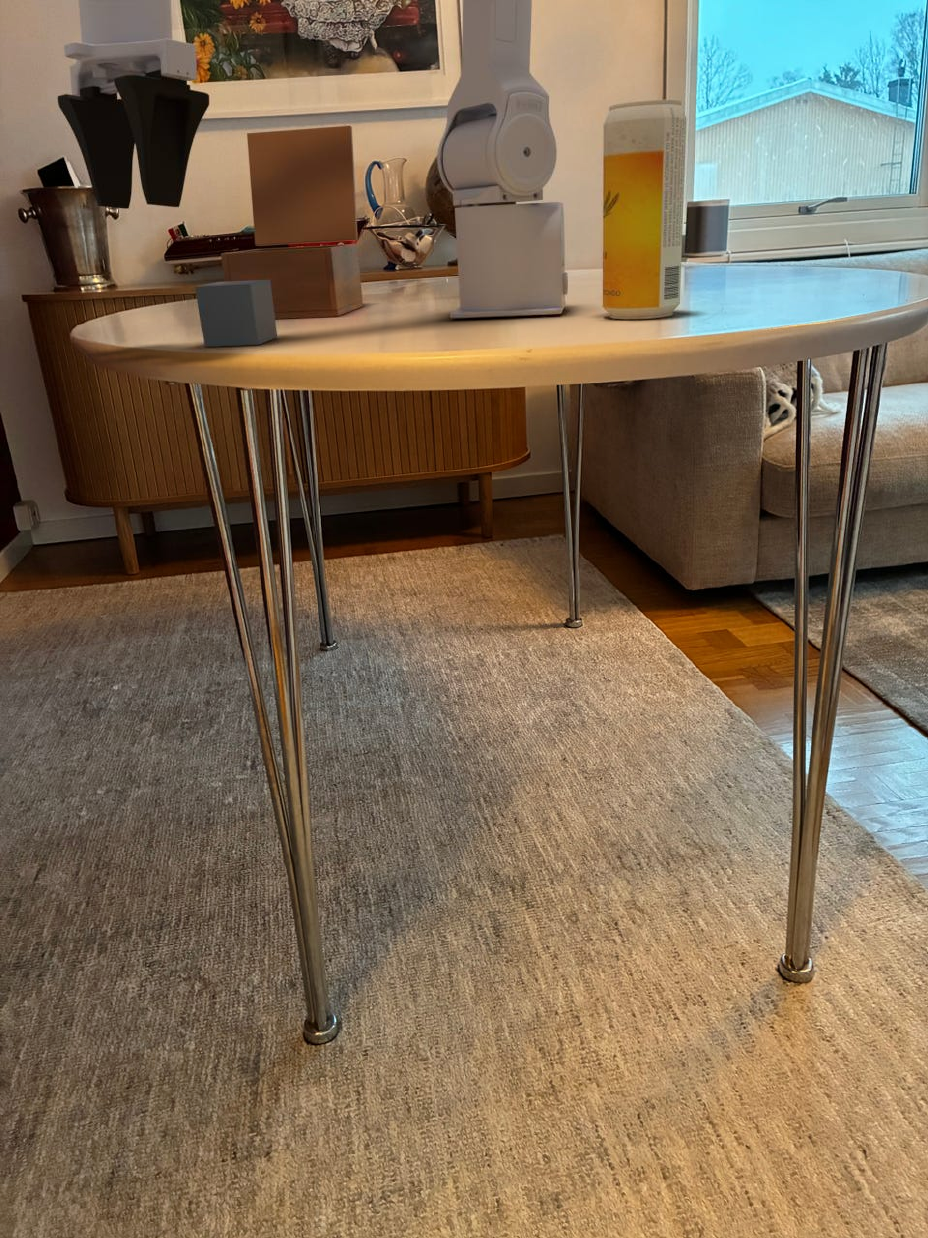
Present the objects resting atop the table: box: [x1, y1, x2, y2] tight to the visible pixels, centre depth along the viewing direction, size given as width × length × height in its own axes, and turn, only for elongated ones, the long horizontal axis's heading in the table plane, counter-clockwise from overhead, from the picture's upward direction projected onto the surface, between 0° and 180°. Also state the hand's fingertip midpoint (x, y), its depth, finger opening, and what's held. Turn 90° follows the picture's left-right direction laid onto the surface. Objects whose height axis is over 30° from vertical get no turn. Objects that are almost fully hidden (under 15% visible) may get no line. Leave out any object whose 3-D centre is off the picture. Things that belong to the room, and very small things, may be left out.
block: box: [194, 280, 278, 348], centre depth 72 cm, size 4×4×4 cm
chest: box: [220, 243, 364, 320], centre depth 92 cm, size 10×11×6 cm
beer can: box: [602, 99, 688, 320], centre depth 72 cm, size 6×6×15 cm
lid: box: [246, 125, 359, 247], centre depth 94 cm, size 11×11×1 cm
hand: (137, 206), depth 65 cm, fingers open, 7 cm apart
